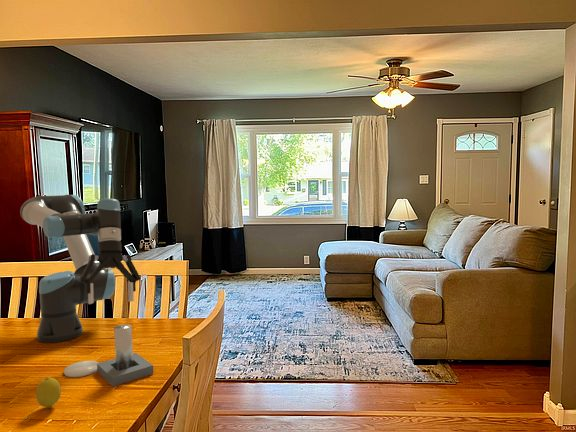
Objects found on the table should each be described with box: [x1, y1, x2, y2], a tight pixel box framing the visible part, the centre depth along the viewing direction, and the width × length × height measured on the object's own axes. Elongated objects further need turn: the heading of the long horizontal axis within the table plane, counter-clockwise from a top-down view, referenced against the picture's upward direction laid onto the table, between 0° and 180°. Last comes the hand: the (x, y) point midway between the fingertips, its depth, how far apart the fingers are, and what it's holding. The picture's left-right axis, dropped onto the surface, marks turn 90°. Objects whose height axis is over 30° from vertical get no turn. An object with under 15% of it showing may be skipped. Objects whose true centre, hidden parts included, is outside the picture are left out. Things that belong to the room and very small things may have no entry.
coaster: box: [63, 360, 100, 378], centre depth 134 cm, size 10×10×1 cm
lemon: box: [35, 376, 62, 409], centre depth 112 cm, size 6×6×8 cm
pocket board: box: [96, 352, 154, 387], centre depth 132 cm, size 13×12×2 cm
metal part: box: [113, 323, 134, 371], centre depth 131 cm, size 5×5×14 cm
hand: (111, 302), depth 150 cm, fingers open, 13 cm apart
